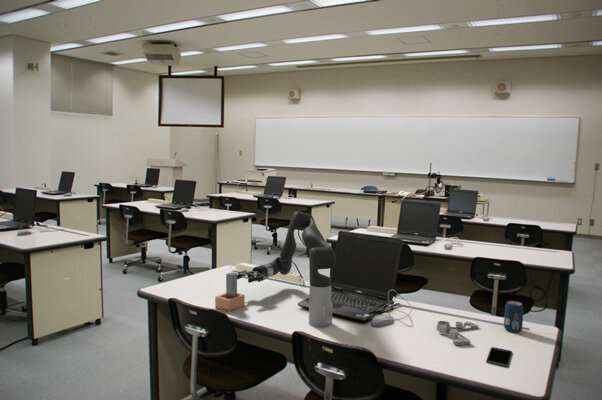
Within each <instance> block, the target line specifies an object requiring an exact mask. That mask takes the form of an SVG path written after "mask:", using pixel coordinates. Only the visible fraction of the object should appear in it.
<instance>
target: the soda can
mask: <svg viewBox="0 0 602 400" xmlns="http://www.w3.org/2000/svg"><path fill="white" fill-rule="evenodd" d="M503 320H504V321H503V327H504V330H505V331H506V332H509V333H512V334H520V333H521V332H522V330H523V321H524V306H523V303H522V302H520V301H517V300H507V301H506V303H505V305H504V319H503Z"/></svg>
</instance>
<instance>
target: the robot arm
mask: <svg viewBox="0 0 602 400" xmlns="http://www.w3.org/2000/svg"><path fill="white" fill-rule="evenodd" d="M287 228H288V229H287V233H286V237H285V240H284V242H283V245H282V248H281V250H280V254H279V256H276V257H275V258H274V259H273V260H272V261H270V262H268V263H264V264H260V265H257V266H254V267H253V269H252V270H248V271H247V270H246V269H245V270H244V269H243V270H241V271H237V280H241V279H245V280H247V283H249V284H250V283H253V282H255V283H256V282H258V283H260V282H262V281H265V280H267V279H268V278H269V279H270V278H271V277H274V276H276V275H278V273H279V274H281V275H282V276H286V275H288V274H289V273H290V271H291V270H292V267H293V266H292V265H293V257H294V255H295V252H296V250H297V242H296V238H295V231H296V230H297V231H302V233H301V239H302V243H303V244H304V246H305V247H306V248H307V249H308V250H309V255H308V260H309V290H308V291H309V292H308V293H309V295H308V299H309V300H308V306H309V307H308V311H309V312H308V324H309V325H310V326H312V327H316V328H326V327H328V326H330V325H331V324H333V305H334V303H333V301H332V299H331V298H332V297H331V296H332V279H331V277H329V276H328V275H325V274H322V273H320V272H319V270H328V269H332V268H334V267H335V265H336V263H337V256H336V254H335V250H334V249H333V247H332V246H331V245H330V244H329V243H328V242H327V240H325V238H324V236H323V235H322V233H321V231H320V229H318V227H317V224H316V221H315V219H314V216H313V215H311V214H310V213H307V212H302V211H294V212H293V213H292V216H291V219H290V220H289V225H288V227H287ZM283 260H284V261H283ZM285 260H286V261H285Z"/></svg>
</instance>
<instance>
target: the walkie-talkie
mask: <svg viewBox="0 0 602 400" xmlns="http://www.w3.org/2000/svg"><path fill="white" fill-rule="evenodd" d="M390 305H391V306H389V307H386V308H385V310H384V311H383V312H386V311H390V310H391V308H395V307H397V306H399V305H401V304H400V302H397V303H394V304H390Z"/></svg>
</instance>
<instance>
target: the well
mask: <svg viewBox="0 0 602 400" xmlns="http://www.w3.org/2000/svg"><path fill="white" fill-rule="evenodd" d="M245 297H246V296H245V294H243V293H239V292H237V297H234V298H231V299H227V298H226V292H225V293H221V294H218V295H217V296H215V303H214V305H215V306H214V307H215V309H217V310H221V311H225V312H228V313H230V312H232V311H235V310H238V309H240V308H243V307H245V302H246V301H245Z"/></svg>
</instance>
